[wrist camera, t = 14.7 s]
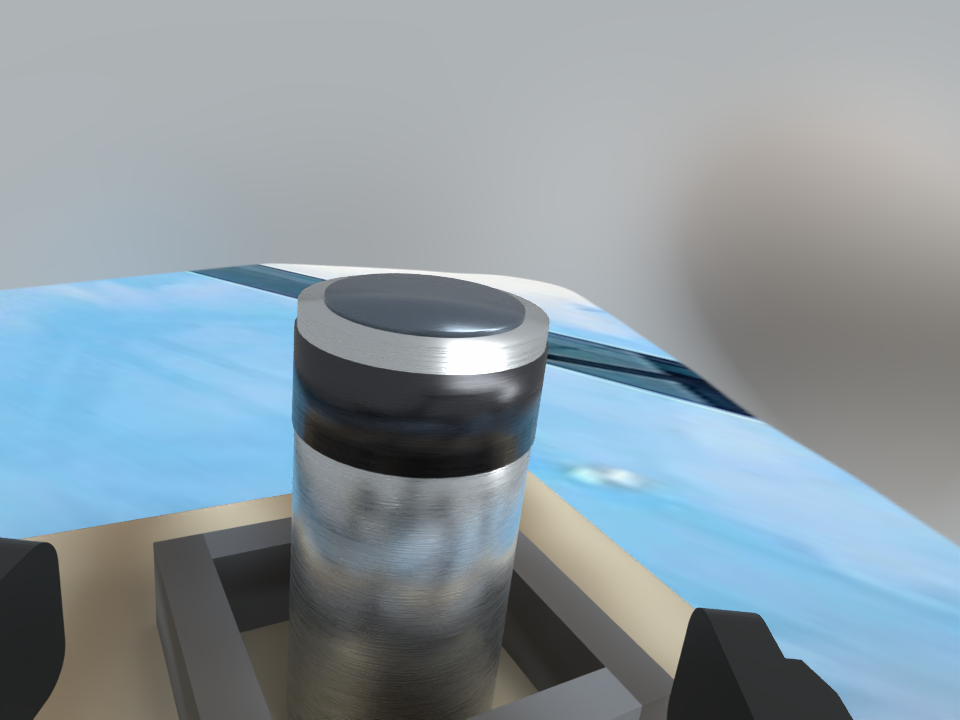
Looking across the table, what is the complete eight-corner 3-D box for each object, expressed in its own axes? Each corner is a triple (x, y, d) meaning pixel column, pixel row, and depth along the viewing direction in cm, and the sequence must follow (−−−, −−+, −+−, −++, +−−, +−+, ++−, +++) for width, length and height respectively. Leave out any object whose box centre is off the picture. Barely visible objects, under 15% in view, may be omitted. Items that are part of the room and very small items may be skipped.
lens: (491, 632, 21) (541, 281, 17) (496, 795, 16) (567, 353, 12) (309, 617, 20) (323, 258, 17) (258, 777, 16) (263, 322, 12)
